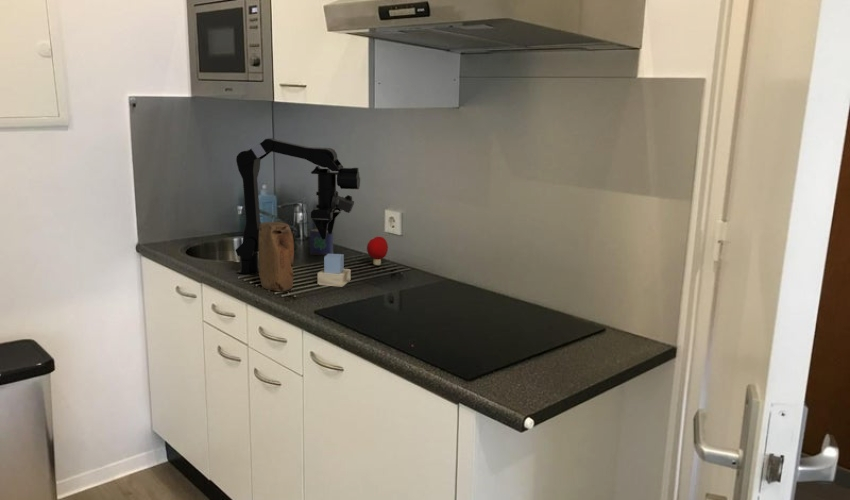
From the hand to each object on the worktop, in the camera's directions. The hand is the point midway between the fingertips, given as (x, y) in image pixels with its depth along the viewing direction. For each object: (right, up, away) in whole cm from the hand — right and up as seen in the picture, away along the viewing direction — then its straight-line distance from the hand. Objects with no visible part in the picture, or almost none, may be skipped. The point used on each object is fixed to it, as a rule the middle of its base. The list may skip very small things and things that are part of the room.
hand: (327, 236), depth 218 cm
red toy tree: (+15, -10, +17) cm, 25 cm away
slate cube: (+3, -11, -6) cm, 13 cm away
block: (-13, -16, -13) cm, 25 cm away
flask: (-7, -6, +33) cm, 34 cm away
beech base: (+3, -15, -5) cm, 16 cm away
